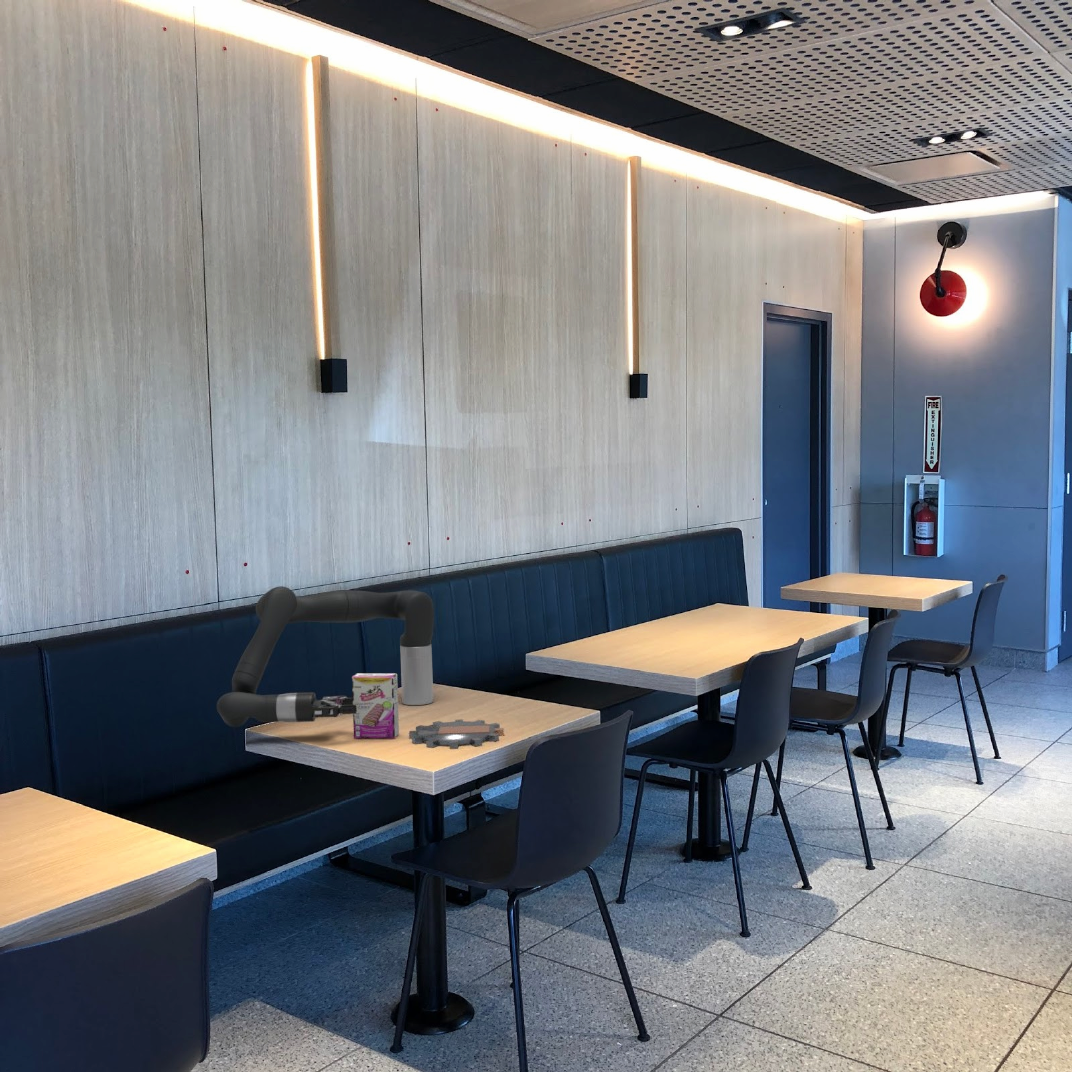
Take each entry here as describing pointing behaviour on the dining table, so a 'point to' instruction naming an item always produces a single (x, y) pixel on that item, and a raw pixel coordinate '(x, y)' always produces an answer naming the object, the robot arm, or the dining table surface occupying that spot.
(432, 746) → the sprocket plate
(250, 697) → the robot arm
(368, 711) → the candy bar box
